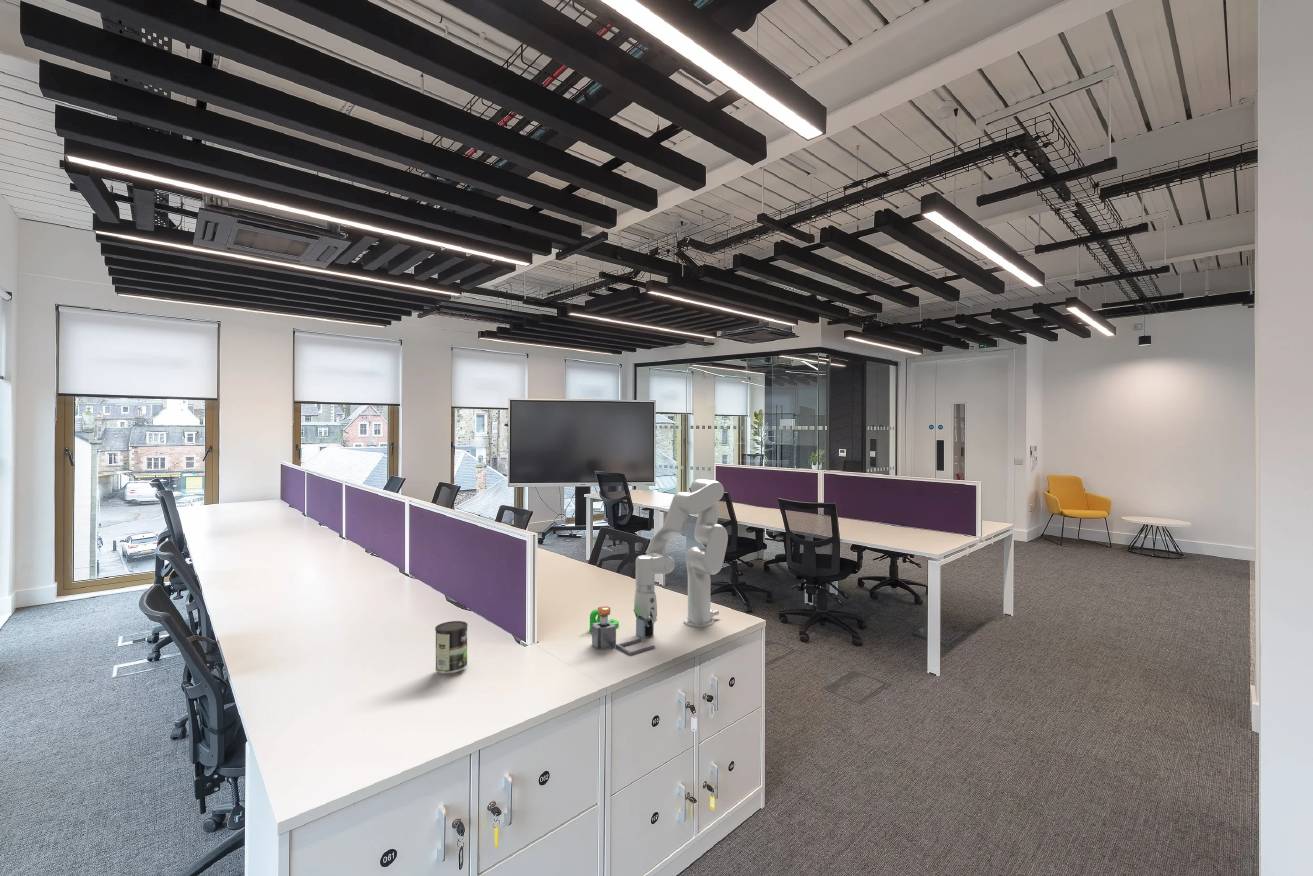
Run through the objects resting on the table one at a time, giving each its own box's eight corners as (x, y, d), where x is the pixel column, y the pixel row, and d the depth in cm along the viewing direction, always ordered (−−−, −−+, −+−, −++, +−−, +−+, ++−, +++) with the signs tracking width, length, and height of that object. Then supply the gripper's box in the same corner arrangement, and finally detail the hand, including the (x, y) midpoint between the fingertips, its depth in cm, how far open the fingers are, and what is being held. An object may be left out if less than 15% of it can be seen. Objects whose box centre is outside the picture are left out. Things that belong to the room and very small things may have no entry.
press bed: (640, 640, 207) (640, 636, 207) (658, 651, 197) (658, 646, 197) (611, 648, 200) (611, 644, 200) (628, 659, 190) (628, 654, 190)
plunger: (606, 627, 206) (606, 605, 206) (612, 631, 202) (612, 608, 202) (595, 630, 203) (595, 607, 203) (601, 634, 199) (601, 611, 199)
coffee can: (469, 660, 189) (470, 619, 189) (464, 672, 179) (464, 630, 179) (439, 662, 187) (439, 621, 187) (431, 674, 177) (431, 632, 177)
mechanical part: (599, 634, 215) (599, 614, 215) (589, 630, 219) (589, 610, 219) (621, 626, 223) (621, 607, 223) (612, 623, 228) (612, 604, 228)
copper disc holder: (607, 640, 208) (607, 620, 208) (617, 646, 201) (617, 625, 201) (590, 644, 203) (590, 624, 203) (599, 651, 197) (600, 629, 197)
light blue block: (646, 633, 215) (646, 612, 215) (653, 637, 211) (653, 615, 211) (636, 635, 212) (636, 614, 213) (643, 639, 208) (643, 617, 208)
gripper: (665, 591, 207) (665, 638, 207) (641, 581, 221) (640, 625, 221) (649, 594, 203) (649, 642, 203) (625, 584, 217) (625, 629, 217)
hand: (644, 633), depth 212 cm, fingers closed on light blue block, 5 cm apart
